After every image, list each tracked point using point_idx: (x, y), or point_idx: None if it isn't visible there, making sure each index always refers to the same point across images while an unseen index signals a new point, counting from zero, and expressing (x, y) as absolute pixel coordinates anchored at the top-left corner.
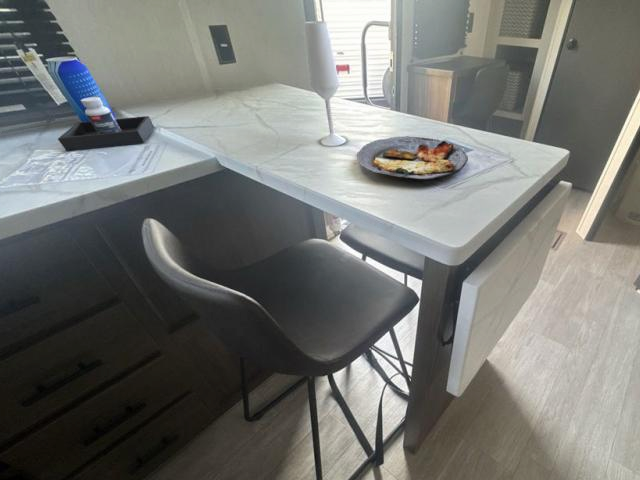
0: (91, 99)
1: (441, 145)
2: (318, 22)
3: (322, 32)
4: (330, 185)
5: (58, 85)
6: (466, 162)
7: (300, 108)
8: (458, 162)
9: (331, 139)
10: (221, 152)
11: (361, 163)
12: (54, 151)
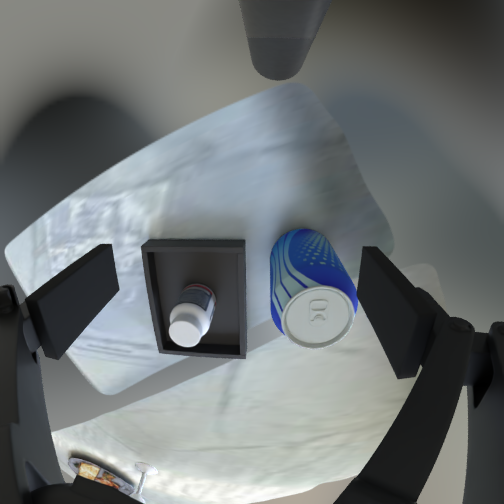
0: (180, 337)
1: None
2: None
3: None
4: (66, 437)
5: (284, 264)
6: None
7: (273, 474)
8: None
9: (139, 469)
10: (122, 408)
11: (80, 459)
12: (153, 218)
